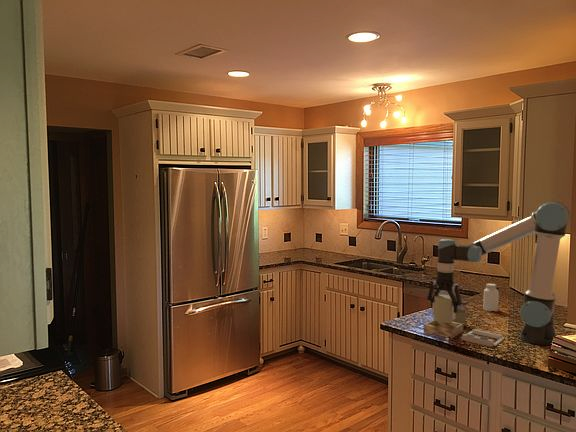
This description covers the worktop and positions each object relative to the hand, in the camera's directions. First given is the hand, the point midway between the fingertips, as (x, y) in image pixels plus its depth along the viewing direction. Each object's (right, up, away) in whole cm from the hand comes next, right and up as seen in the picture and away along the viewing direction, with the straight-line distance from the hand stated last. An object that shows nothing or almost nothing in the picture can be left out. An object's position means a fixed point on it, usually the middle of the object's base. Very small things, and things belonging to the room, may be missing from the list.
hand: (443, 317), depth 231 cm
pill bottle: (+41, -5, +43) cm, 59 cm away
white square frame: (+15, -8, -10) cm, 20 cm away
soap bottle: (+18, -4, +52) cm, 55 cm away
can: (0, -2, 0) cm, 2 cm away
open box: (0, -7, 0) cm, 7 cm away
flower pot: (+11, -7, +13) cm, 19 cm away
